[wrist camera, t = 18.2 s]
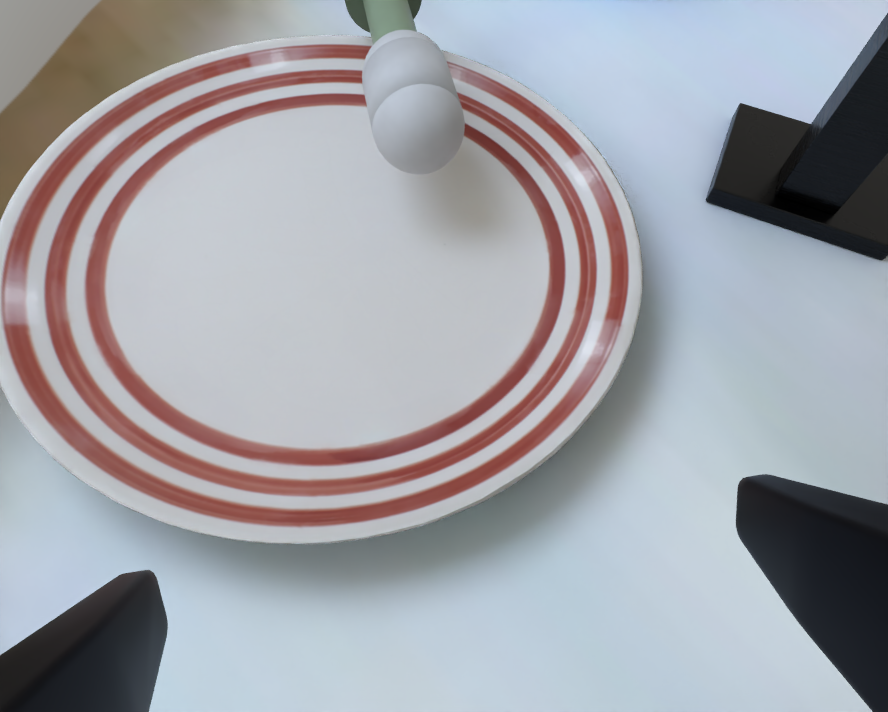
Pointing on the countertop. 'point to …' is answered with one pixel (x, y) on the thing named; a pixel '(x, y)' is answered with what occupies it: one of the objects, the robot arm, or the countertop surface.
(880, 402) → the countertop surface
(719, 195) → the black bracket
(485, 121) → the dinner plate
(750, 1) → the countertop surface
